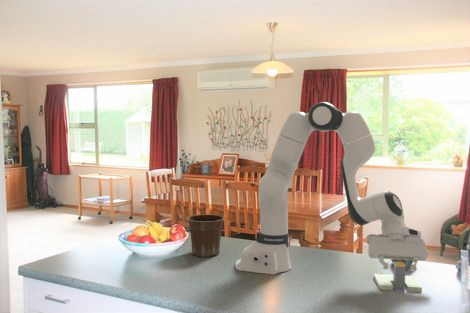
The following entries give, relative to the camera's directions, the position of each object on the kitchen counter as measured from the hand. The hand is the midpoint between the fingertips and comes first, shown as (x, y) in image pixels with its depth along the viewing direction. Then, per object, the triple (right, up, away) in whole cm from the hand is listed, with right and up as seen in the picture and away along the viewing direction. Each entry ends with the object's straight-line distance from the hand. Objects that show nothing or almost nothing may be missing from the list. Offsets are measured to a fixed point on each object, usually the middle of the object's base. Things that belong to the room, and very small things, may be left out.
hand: (399, 269), depth 150 cm
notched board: (+1, -7, +5) cm, 8 cm away
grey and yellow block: (0, -7, +1) cm, 7 cm away
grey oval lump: (+11, -6, +26) cm, 29 cm away
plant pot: (-71, -4, +41) cm, 82 cm away
